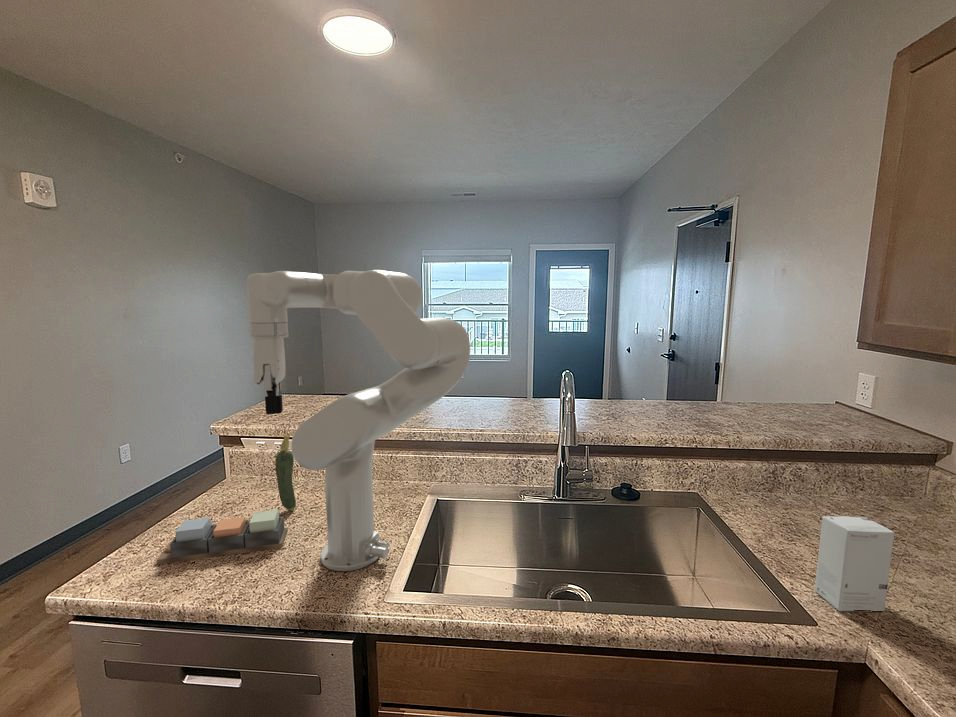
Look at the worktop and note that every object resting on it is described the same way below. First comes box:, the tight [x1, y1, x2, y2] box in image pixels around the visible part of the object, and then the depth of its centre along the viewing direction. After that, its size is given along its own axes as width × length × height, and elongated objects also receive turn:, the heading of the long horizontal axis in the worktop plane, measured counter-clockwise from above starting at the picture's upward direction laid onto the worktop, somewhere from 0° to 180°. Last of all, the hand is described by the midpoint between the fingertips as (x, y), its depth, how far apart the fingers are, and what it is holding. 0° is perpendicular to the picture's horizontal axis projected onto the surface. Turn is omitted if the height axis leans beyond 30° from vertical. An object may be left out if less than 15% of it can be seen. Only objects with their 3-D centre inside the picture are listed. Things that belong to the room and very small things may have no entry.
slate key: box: [174, 516, 212, 542], centre depth 94 cm, size 5×5×4 cm
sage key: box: [249, 509, 280, 533], centre depth 97 cm, size 5×5×4 cm
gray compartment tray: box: [155, 515, 289, 565], centre depth 95 cm, size 24×7×4 cm, turn 105°
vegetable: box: [274, 434, 297, 511], centre depth 111 cm, size 4×4×20 cm
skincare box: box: [814, 515, 895, 612], centre depth 77 cm, size 8×6×15 cm
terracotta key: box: [213, 516, 247, 538], centre depth 95 cm, size 5×5×4 cm
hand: (274, 412), depth 97 cm, fingers closed
